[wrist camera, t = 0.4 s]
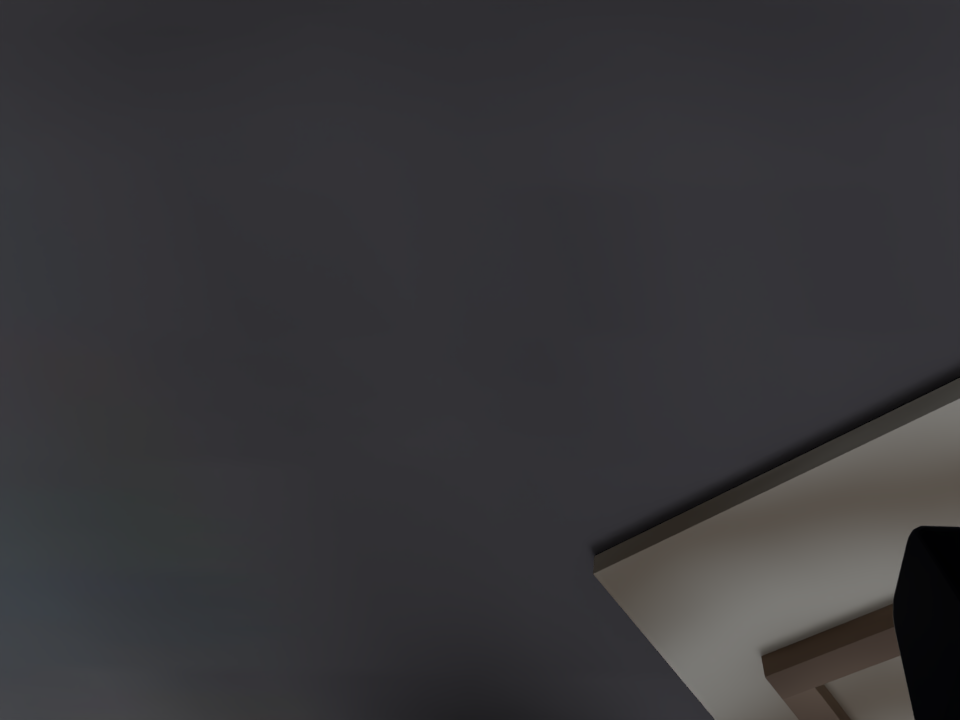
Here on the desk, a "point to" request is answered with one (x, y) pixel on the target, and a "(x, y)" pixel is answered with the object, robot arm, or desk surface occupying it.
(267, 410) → the desk surface
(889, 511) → the beige flat board
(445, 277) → the desk surface
